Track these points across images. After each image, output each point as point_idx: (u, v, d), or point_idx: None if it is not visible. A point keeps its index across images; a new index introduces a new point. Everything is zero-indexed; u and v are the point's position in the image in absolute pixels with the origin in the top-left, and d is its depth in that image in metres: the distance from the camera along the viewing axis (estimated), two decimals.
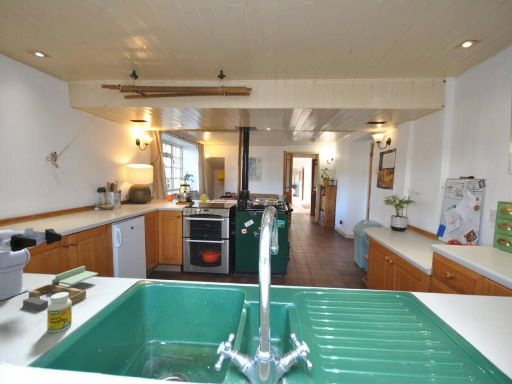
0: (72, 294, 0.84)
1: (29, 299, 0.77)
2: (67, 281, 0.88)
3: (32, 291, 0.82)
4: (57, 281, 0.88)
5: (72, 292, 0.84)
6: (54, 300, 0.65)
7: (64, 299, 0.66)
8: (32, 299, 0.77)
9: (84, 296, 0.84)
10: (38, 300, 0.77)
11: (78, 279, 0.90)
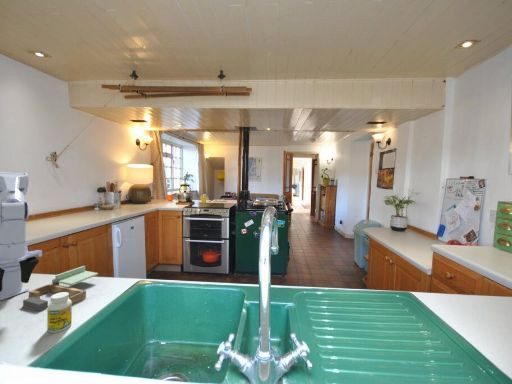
0: (72, 294, 0.84)
1: (29, 299, 0.77)
2: (67, 281, 0.88)
3: (32, 291, 0.82)
4: (57, 281, 0.88)
5: (72, 292, 0.84)
6: (54, 300, 0.65)
7: (64, 299, 0.66)
8: (32, 299, 0.77)
9: (84, 296, 0.84)
10: (38, 300, 0.77)
11: (78, 279, 0.90)
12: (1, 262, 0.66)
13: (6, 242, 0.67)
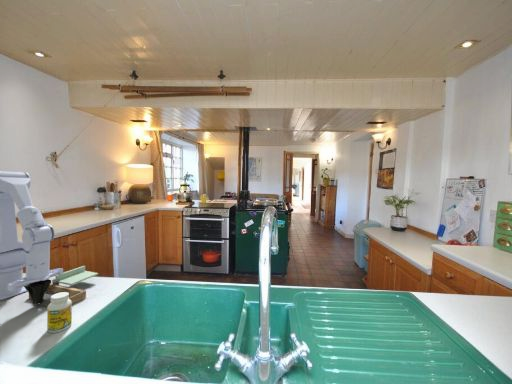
0: (72, 294, 0.84)
1: None
2: (67, 281, 0.88)
3: None
4: (57, 281, 0.88)
5: (72, 292, 0.84)
6: (54, 300, 0.65)
7: (64, 299, 0.66)
8: None
9: (84, 296, 0.84)
10: (48, 296, 0.80)
11: (78, 279, 0.90)
12: (29, 282, 0.73)
13: (37, 263, 0.75)
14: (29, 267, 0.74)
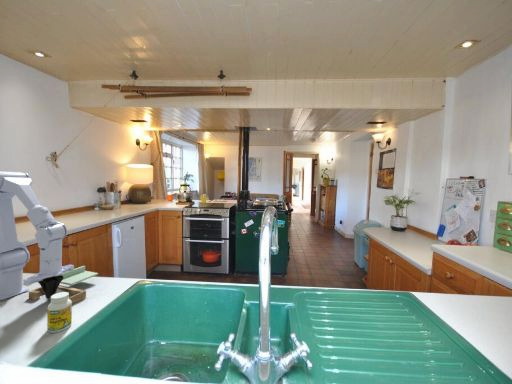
0: (72, 294, 0.84)
1: None
2: (67, 281, 0.88)
3: (32, 291, 0.82)
4: None
5: (72, 292, 0.84)
6: (54, 300, 0.65)
7: (64, 299, 0.66)
8: (57, 290, 0.84)
9: (84, 296, 0.84)
10: (61, 291, 0.83)
11: (78, 279, 0.90)
12: (43, 277, 0.77)
13: (53, 259, 0.79)
14: (43, 263, 0.78)
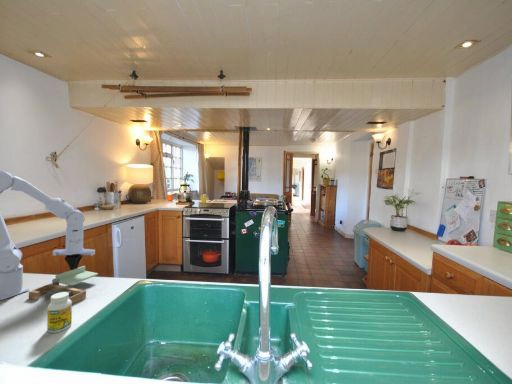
0: (72, 294, 0.84)
1: (51, 291, 0.83)
2: (67, 281, 0.88)
3: (32, 291, 0.82)
4: (57, 281, 0.88)
5: (72, 292, 0.84)
6: (54, 300, 0.65)
7: (64, 299, 0.66)
8: (55, 291, 0.83)
9: (84, 296, 0.84)
10: (61, 291, 0.83)
11: (78, 279, 0.90)
12: (61, 252, 0.93)
13: (82, 238, 0.96)
14: None
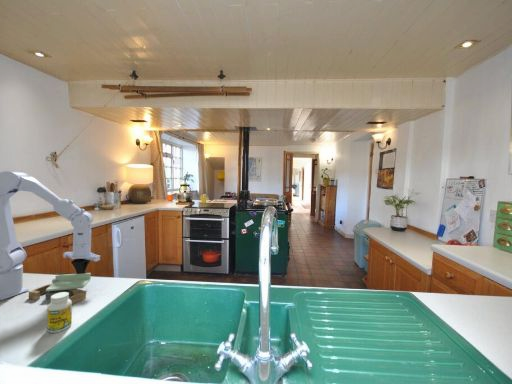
0: (72, 294, 0.84)
1: (51, 292, 0.83)
2: (53, 285, 0.84)
3: (32, 291, 0.82)
4: (53, 282, 0.87)
5: (72, 292, 0.84)
6: (54, 300, 0.65)
7: (64, 299, 0.66)
8: (54, 291, 0.83)
9: (84, 296, 0.84)
10: (61, 291, 0.83)
11: (60, 286, 0.83)
12: (69, 255, 0.90)
13: (88, 242, 0.91)
14: None
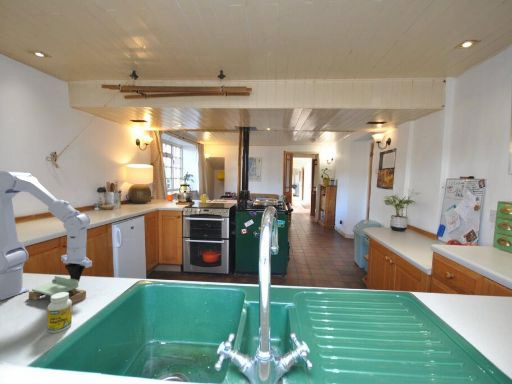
0: (72, 294, 0.84)
1: None
2: (44, 285, 0.84)
3: (32, 291, 0.82)
4: (52, 281, 0.87)
5: (72, 292, 0.84)
6: (54, 300, 0.65)
7: (64, 299, 0.66)
8: None
9: (84, 296, 0.84)
10: None
11: (43, 289, 0.81)
12: (64, 259, 0.87)
13: (82, 246, 0.86)
14: None
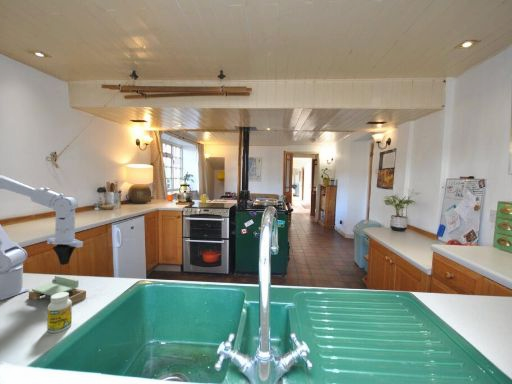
0: (72, 294, 0.84)
1: None
2: (44, 285, 0.84)
3: (32, 291, 0.82)
4: (52, 281, 0.87)
5: (72, 292, 0.84)
6: (54, 300, 0.65)
7: (64, 299, 0.66)
8: None
9: (84, 296, 0.84)
10: None
11: (43, 289, 0.81)
12: (52, 241, 0.87)
13: (71, 227, 0.88)
14: None
